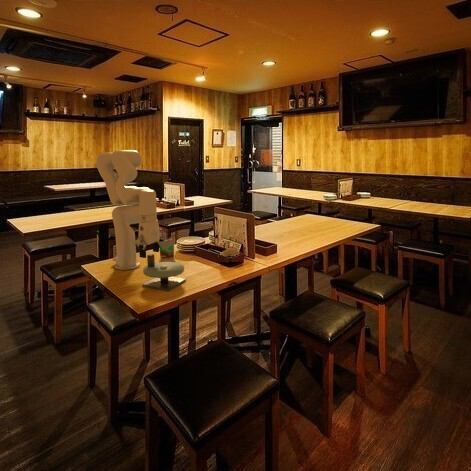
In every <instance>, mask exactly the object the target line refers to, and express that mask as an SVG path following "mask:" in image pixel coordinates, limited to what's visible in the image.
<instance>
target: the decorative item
mask: <svg viewBox="0 0 471 471" xmlns="http://www.w3.org/2000/svg"><path fill="white" fill-rule="evenodd" d="M219 254H220V255H223V256H236V255H239V254H241V253H240V251H238V250H237V249H235V248H231V247H229V248H225V250H223V251H222V252H220V253H219Z"/></svg>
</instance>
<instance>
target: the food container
mask: <svg viewBox="0 0 471 471" xmlns="http://www.w3.org/2000/svg"><path fill="white" fill-rule="evenodd" d="M175 243H176V239H175V238H174V237H173V236H172V237H171V236H169V238H167V239H164V240H162V241H161V240H160V243H159V255H160V259H171V258H173V257H174V255H175Z"/></svg>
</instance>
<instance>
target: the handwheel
mask: <svg viewBox="0 0 471 471" xmlns="http://www.w3.org/2000/svg"><path fill="white" fill-rule="evenodd" d="M146 258H147V259H146V261H147V265H145V266H144V267H143V269H142V270H143V272H142V273H143V275H144V276H146V277H149V278H152V279H153V278H167V277H178V276H180V275H181V274H183V273H184V272H185V266H184V265H183V264H182V263H179V262H174V261H160V262H159V261H158V262H155V254H152V253H151V254H146Z"/></svg>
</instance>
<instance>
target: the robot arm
mask: <svg viewBox="0 0 471 471" xmlns="http://www.w3.org/2000/svg"><path fill="white" fill-rule="evenodd" d="M142 159H143V158H142V155H141V153H140V152H138V151H137V150H134V149H118V150H115V151H112V152H111V151H109V152H108V151H107V152H103V153H99V154H98V155H97V156H96V161H95V162H96V167H97V170H98V172H99V175H100V177H101V178H102V180H103V181H104V183H105V187H106V191H107V194H108V197H109V200H110V203H111V204H112V205H113V206H116V207H115V208H113V209H112V211H111V218H112V219H111V220H112V222H113V226H114V235H115V244H116V245H115V246H116V256H114V257H113V258H112V262H115V264H114V269H116V270H120V271H128V270H135V269H137V268H139V267H140V266H141V262H140V261H137V260H138V259H137V249H138V250H139V252H138V254H139V258H142V259H146V258H147V250H146V247H147V245H148V246H149V245H151V244H152V251H153V252H155V253H160V248H159V243H160V241H161V237H162V232H161V231H160V230H161V229H160V225H159V220H158V218H157V217H158V216H157V215H158V214H157V213H158V212H157V208H158V207H157V193H156V192H157V191H155V190H154V189H151V188H149V187H146V186H142V187H138V186H135V185H129V186H128V184H130V183H132V182H133V181H134V180H135V179H136V178H137V176H138V170H137V168H140V167H141V165H142V162H143V161H142ZM135 224H138V237H137V239H136V233H135V231H134V229H133V228H132V227H131V226H130V225H135Z"/></svg>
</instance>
